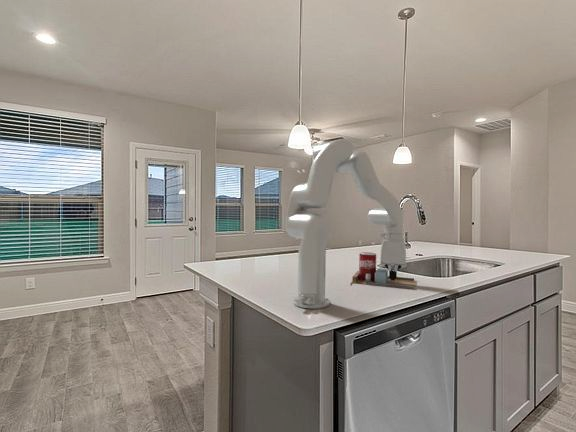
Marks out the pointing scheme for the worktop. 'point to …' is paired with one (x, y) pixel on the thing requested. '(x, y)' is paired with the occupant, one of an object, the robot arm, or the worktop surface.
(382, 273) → the jaw
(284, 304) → the worktop surface
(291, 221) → the robot arm
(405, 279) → the board
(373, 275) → the soda can
